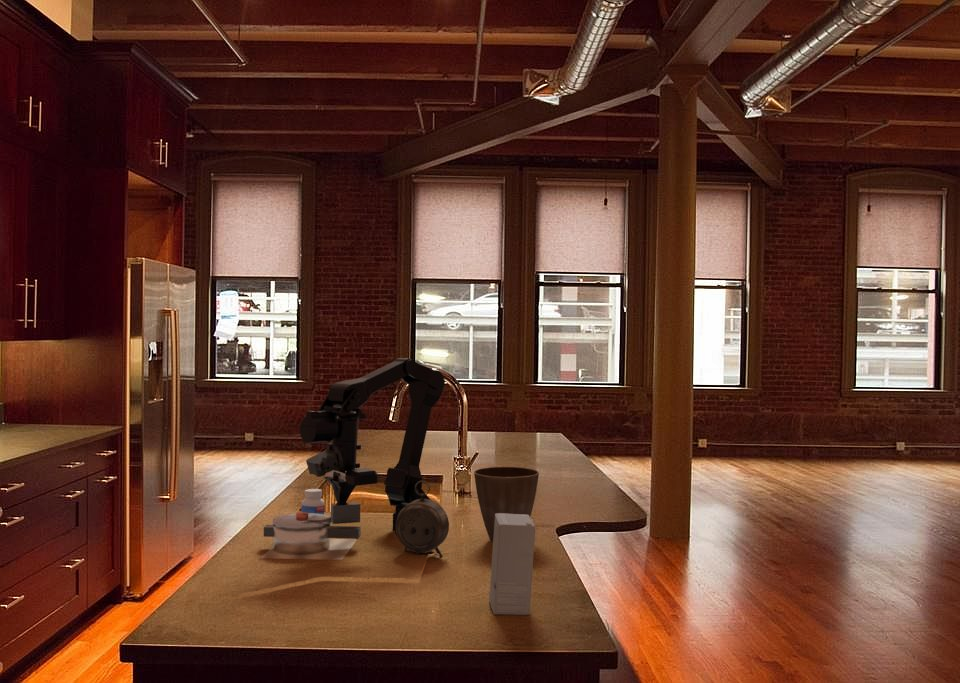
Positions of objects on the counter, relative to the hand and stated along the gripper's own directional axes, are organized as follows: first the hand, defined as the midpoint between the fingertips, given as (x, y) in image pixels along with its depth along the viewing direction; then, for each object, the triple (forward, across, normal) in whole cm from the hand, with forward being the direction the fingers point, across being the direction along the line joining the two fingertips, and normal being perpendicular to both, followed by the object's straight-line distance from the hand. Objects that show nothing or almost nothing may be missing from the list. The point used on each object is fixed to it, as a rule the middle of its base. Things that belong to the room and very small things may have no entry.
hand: (340, 509), depth 197 cm
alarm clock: (+7, +19, +8) cm, 22 cm away
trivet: (+8, +1, -8) cm, 11 cm away
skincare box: (+5, +56, -3) cm, 57 cm away
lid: (+2, 0, -6) cm, 7 cm away
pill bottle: (+9, -16, +4) cm, 19 cm away
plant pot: (+7, +20, +32) cm, 39 cm away
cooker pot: (+7, +1, -7) cm, 10 cm away
